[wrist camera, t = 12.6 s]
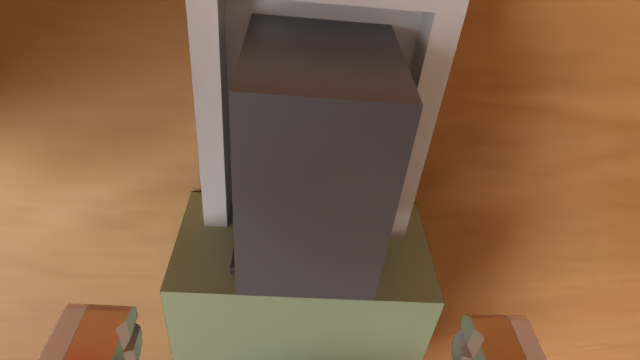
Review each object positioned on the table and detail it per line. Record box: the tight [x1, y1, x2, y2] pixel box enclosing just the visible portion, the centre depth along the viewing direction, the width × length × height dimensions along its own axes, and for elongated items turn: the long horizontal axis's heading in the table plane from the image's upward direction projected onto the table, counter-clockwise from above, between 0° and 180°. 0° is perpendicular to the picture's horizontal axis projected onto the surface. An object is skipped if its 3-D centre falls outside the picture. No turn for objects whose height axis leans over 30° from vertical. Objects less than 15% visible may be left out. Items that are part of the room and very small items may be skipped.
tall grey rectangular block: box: [229, 13, 423, 301], centre depth 17 cm, size 5×8×6 cm, turn 175°
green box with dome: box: [160, 0, 470, 360], centre depth 20 cm, size 25×11×10 cm, turn 175°
